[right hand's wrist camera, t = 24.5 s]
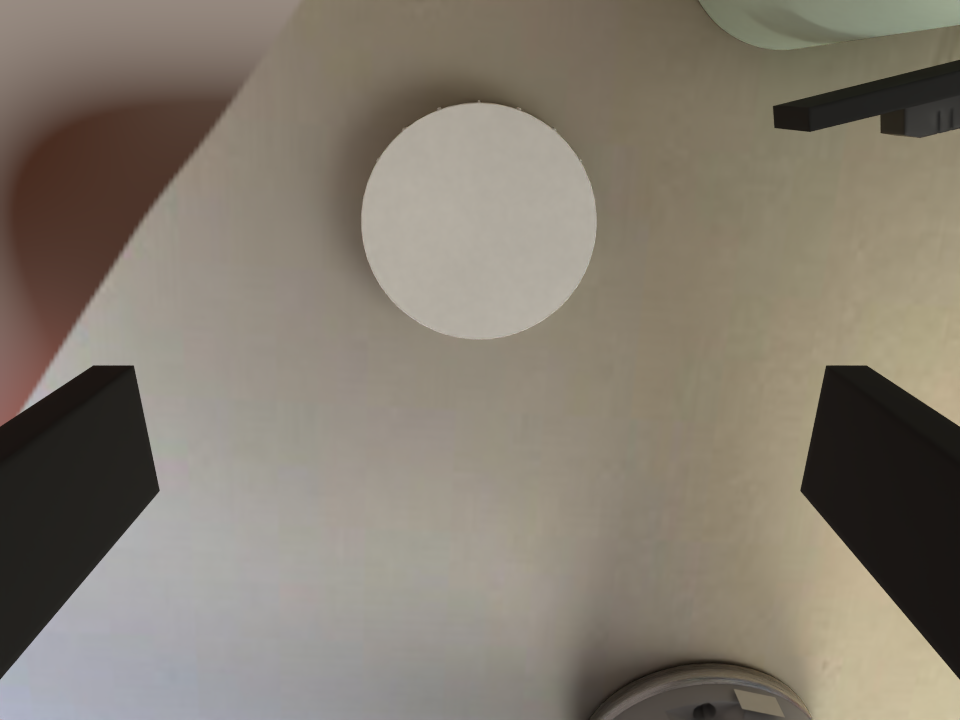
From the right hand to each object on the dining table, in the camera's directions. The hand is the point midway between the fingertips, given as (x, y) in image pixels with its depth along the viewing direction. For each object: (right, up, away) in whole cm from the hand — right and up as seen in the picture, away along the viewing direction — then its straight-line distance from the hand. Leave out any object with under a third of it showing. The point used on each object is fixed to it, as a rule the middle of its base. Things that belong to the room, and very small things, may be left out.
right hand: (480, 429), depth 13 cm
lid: (0, +7, +15) cm, 17 cm away
